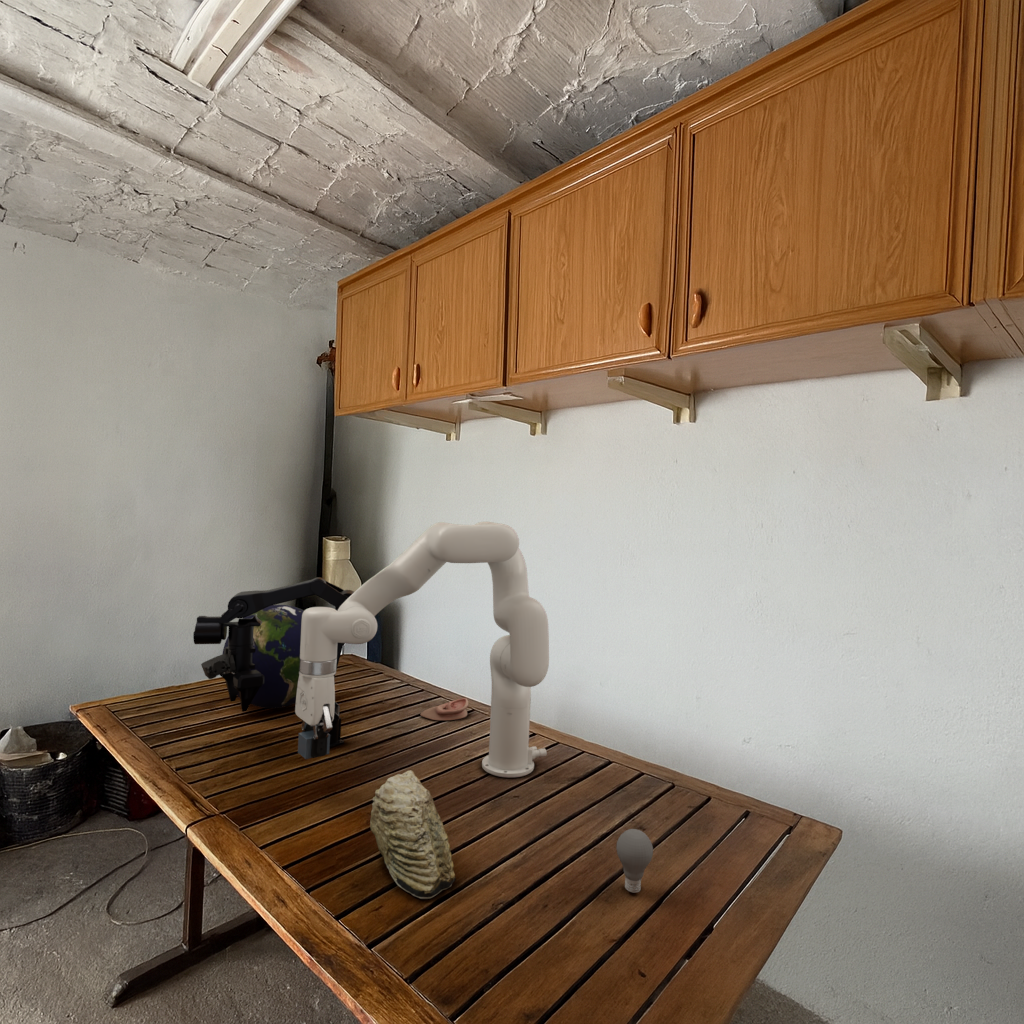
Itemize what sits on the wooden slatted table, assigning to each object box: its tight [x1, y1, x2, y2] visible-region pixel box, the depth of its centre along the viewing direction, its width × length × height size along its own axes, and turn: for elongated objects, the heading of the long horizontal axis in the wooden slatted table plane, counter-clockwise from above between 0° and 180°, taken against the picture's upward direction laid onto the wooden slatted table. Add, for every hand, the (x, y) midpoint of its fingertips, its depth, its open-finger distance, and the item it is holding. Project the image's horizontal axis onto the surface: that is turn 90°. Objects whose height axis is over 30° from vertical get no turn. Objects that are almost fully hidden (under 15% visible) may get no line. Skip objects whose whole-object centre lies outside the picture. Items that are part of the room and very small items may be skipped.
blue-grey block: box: [297, 729, 331, 760], centre depth 134 cm, size 4×5×4 cm
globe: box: [221, 604, 305, 709], centre depth 188 cm, size 30×30×30 cm
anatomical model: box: [419, 697, 469, 721], centre depth 187 cm, size 13×4×12 cm
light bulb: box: [615, 828, 654, 894], centre depth 106 cm, size 6×6×10 cm
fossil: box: [369, 769, 456, 900], centre depth 109 cm, size 9×18×15 cm, turn 46°
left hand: (238, 706), depth 157 cm, fingers open, 9 cm apart
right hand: (313, 751), depth 134 cm, fingers closed on blue-grey block, 4 cm apart
